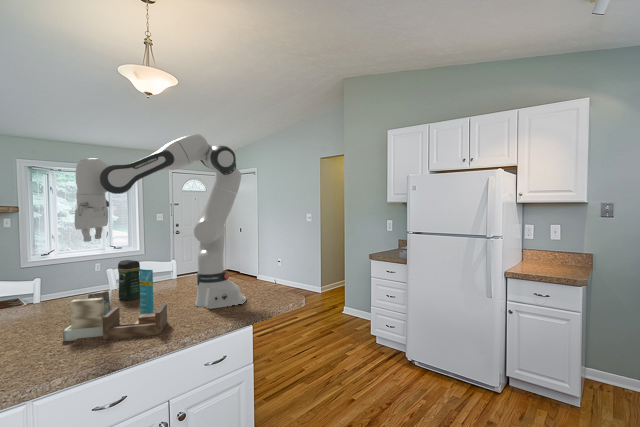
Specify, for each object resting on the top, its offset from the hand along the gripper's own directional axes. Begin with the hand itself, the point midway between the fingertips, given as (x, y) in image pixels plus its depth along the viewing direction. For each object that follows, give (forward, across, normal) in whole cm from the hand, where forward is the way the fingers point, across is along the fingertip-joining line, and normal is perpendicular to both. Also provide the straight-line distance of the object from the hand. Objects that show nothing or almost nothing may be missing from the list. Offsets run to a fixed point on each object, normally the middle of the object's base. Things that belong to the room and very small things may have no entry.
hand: (93, 240), depth 122 cm
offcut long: (+32, -8, -19) cm, 38 cm away
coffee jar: (+32, +38, -1) cm, 50 cm away
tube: (+33, +7, -16) cm, 37 cm away
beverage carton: (+33, +19, +6) cm, 38 cm away
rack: (+32, -11, -16) cm, 38 cm away
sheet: (+32, -10, -1) cm, 33 cm away
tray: (+32, -10, -1) cm, 34 cm away
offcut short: (+30, -8, -19) cm, 36 cm away
